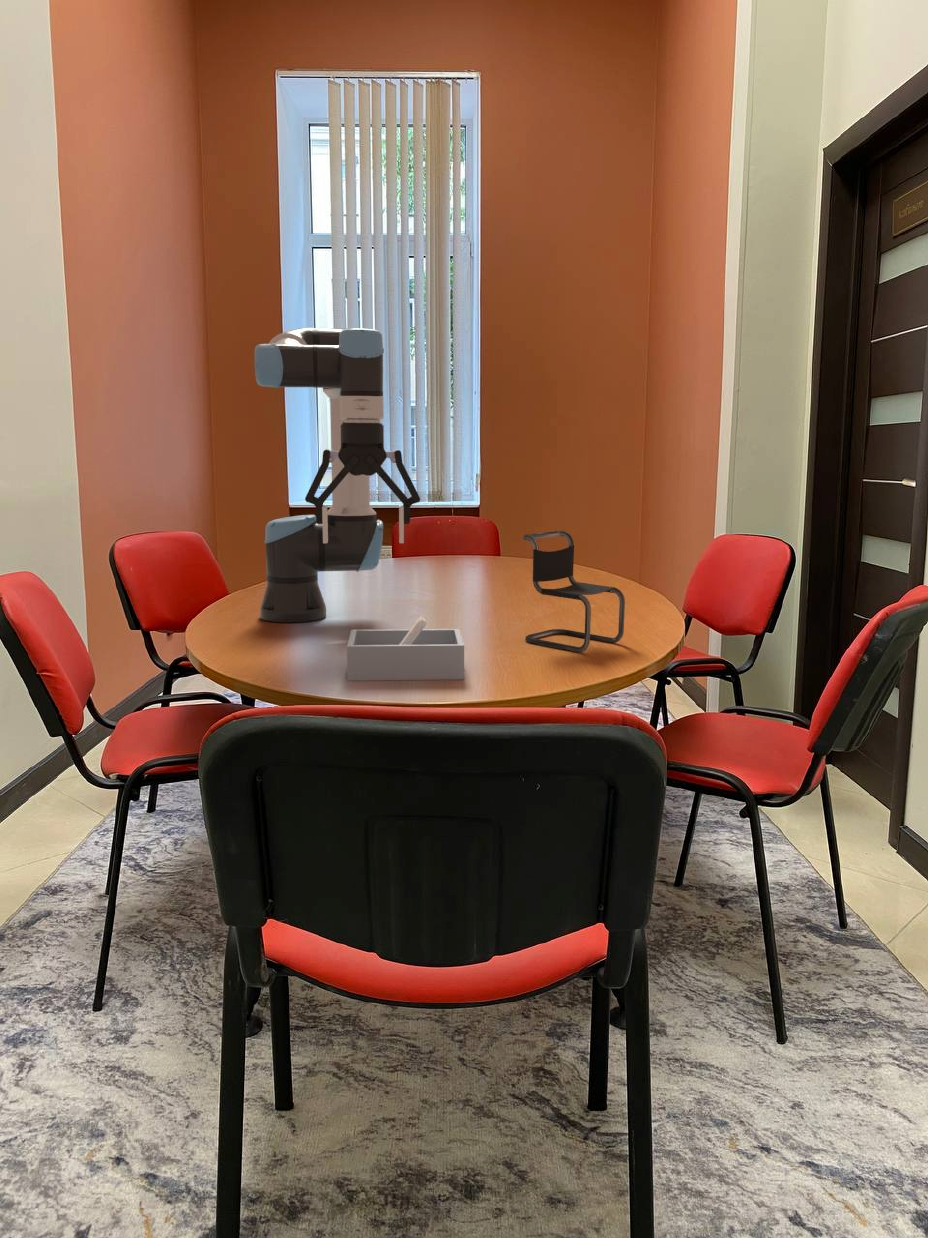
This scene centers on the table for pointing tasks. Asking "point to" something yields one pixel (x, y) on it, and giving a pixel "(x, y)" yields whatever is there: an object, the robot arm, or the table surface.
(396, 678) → the well
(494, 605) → the table surface
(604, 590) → the chair
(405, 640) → the white ring with handle
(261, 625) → the table surface
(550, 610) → the table surface
